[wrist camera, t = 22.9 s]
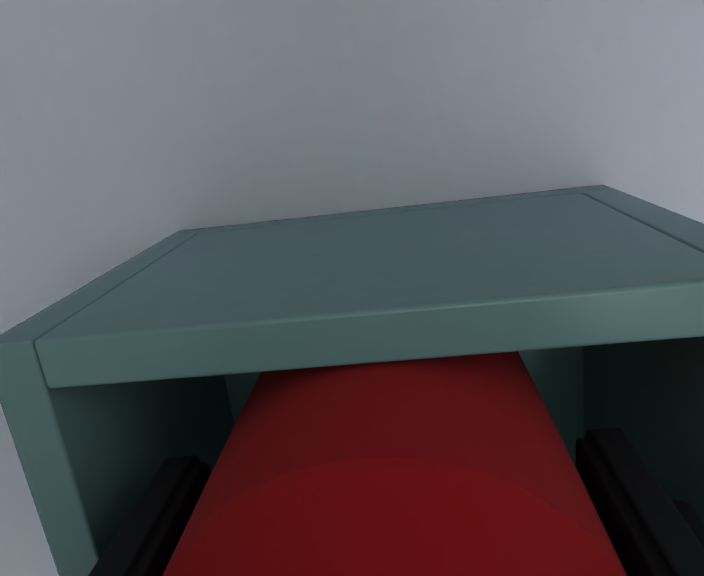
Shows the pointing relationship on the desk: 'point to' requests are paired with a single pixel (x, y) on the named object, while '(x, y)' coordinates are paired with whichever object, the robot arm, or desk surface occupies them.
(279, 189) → the desk surface
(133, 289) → the open box
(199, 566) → the beverage can
